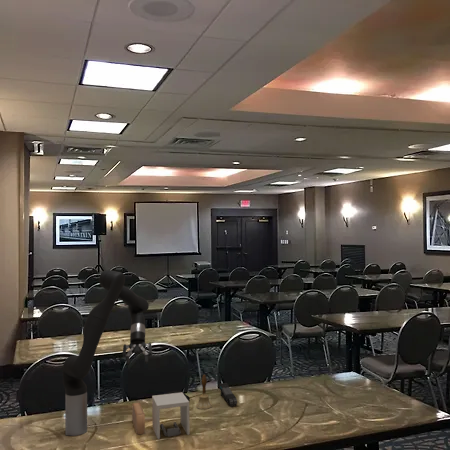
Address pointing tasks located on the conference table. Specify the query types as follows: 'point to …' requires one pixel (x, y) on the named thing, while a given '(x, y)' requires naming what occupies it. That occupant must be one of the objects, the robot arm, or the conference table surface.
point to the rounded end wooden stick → (138, 418)
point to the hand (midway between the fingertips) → (137, 363)
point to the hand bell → (204, 396)
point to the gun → (227, 394)
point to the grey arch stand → (170, 402)
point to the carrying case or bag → (179, 392)
